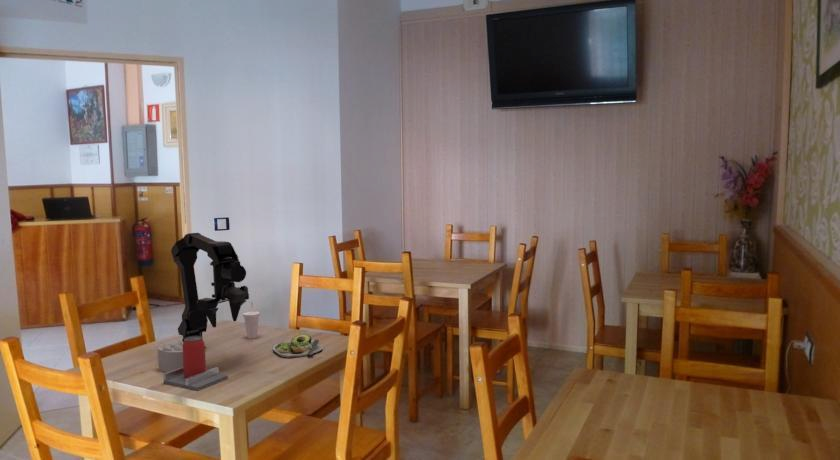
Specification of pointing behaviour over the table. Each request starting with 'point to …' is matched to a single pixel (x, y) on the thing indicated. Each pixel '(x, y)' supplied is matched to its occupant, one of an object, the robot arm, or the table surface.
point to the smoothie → (251, 323)
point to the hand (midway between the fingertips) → (224, 324)
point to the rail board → (193, 378)
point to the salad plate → (298, 347)
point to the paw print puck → (170, 356)
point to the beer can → (193, 356)
